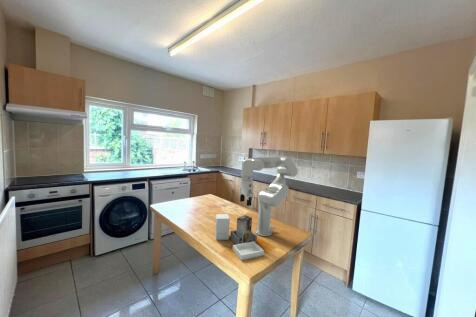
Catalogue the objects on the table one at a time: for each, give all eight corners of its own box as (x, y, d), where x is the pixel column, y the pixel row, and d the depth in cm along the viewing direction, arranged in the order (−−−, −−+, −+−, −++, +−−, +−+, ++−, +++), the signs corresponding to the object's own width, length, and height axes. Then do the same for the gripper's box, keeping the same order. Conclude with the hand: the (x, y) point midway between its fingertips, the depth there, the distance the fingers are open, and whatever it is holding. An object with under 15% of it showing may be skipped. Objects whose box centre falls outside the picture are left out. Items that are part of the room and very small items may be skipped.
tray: (253, 245, 127) (254, 241, 127) (263, 255, 116) (264, 250, 116) (232, 249, 121) (232, 245, 120) (241, 260, 110) (241, 255, 110)
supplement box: (227, 233, 142) (228, 213, 141) (228, 240, 133) (230, 218, 132) (214, 234, 140) (215, 213, 139) (215, 240, 131) (216, 218, 130)
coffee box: (243, 237, 138) (245, 214, 137) (251, 240, 134) (252, 217, 133) (235, 241, 131) (236, 218, 130) (242, 245, 127) (244, 220, 126)
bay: (247, 235, 142) (248, 228, 141) (256, 243, 131) (256, 235, 130) (230, 238, 136) (230, 231, 135) (237, 246, 125) (237, 239, 124)
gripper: (258, 180, 124) (256, 206, 125) (245, 175, 139) (244, 199, 140) (248, 180, 120) (246, 207, 122) (236, 176, 136) (235, 200, 137)
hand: (245, 203), depth 131 cm, fingers open, 9 cm apart
